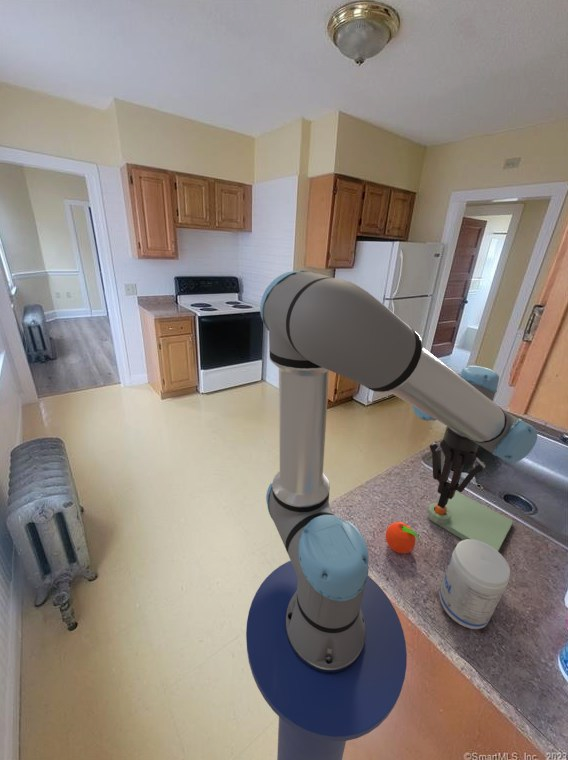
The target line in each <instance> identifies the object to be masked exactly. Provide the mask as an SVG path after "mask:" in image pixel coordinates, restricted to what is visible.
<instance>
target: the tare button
mask: <svg viewBox="0 0 568 760" xmlns="http://www.w3.org/2000/svg"><path fill="white" fill-rule="evenodd" d="M446 509H447V508H446V506H445V507H444V508H442V507H440V506H438V504H436V507H435V512H436V513H437V514H439V515H445V513H446Z"/></svg>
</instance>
